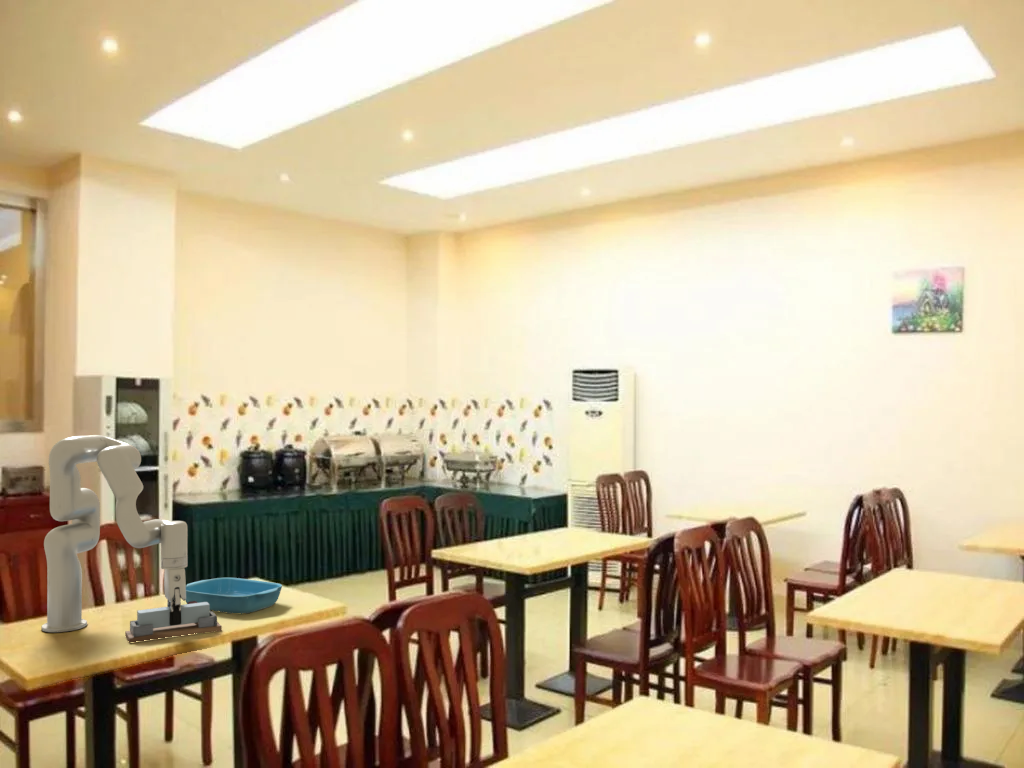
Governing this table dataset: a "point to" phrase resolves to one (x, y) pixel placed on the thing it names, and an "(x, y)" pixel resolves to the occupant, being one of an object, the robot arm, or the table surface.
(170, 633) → the board
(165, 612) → the slat
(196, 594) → the casserole dish
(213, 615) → the end caps
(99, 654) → the table surface
